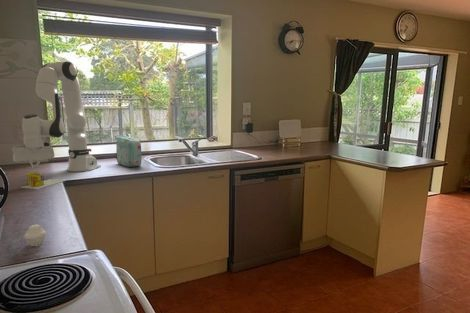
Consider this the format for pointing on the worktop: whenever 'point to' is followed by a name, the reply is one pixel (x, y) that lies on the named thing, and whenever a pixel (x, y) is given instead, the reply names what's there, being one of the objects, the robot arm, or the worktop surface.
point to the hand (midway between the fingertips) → (35, 168)
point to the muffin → (35, 235)
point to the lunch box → (128, 151)
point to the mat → (46, 183)
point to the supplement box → (35, 179)
